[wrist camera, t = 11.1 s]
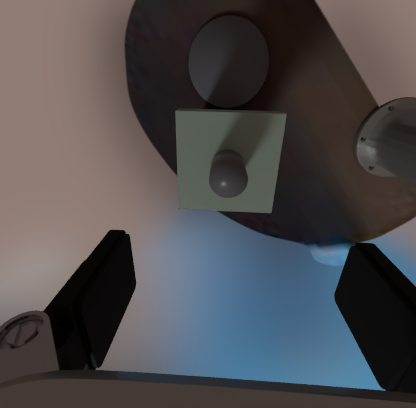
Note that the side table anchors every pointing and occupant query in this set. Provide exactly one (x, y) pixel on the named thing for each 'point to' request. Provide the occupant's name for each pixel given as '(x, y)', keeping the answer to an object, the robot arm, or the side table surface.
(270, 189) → the square plate with knob
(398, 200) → the side table surface
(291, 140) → the side table surface
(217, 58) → the mat
